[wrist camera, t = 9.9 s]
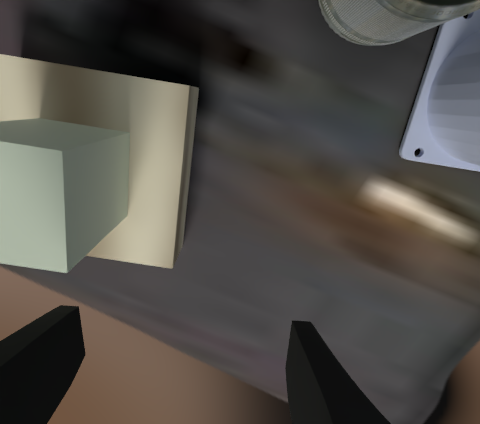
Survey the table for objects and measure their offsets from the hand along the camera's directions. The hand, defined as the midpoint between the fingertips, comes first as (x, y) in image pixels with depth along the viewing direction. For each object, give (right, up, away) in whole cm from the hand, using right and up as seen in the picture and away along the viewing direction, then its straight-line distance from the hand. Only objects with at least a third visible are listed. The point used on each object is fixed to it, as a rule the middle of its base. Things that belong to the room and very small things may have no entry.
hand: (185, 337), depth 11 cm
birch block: (-6, +7, +9) cm, 13 cm away
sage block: (-6, +6, +6) cm, 11 cm away
